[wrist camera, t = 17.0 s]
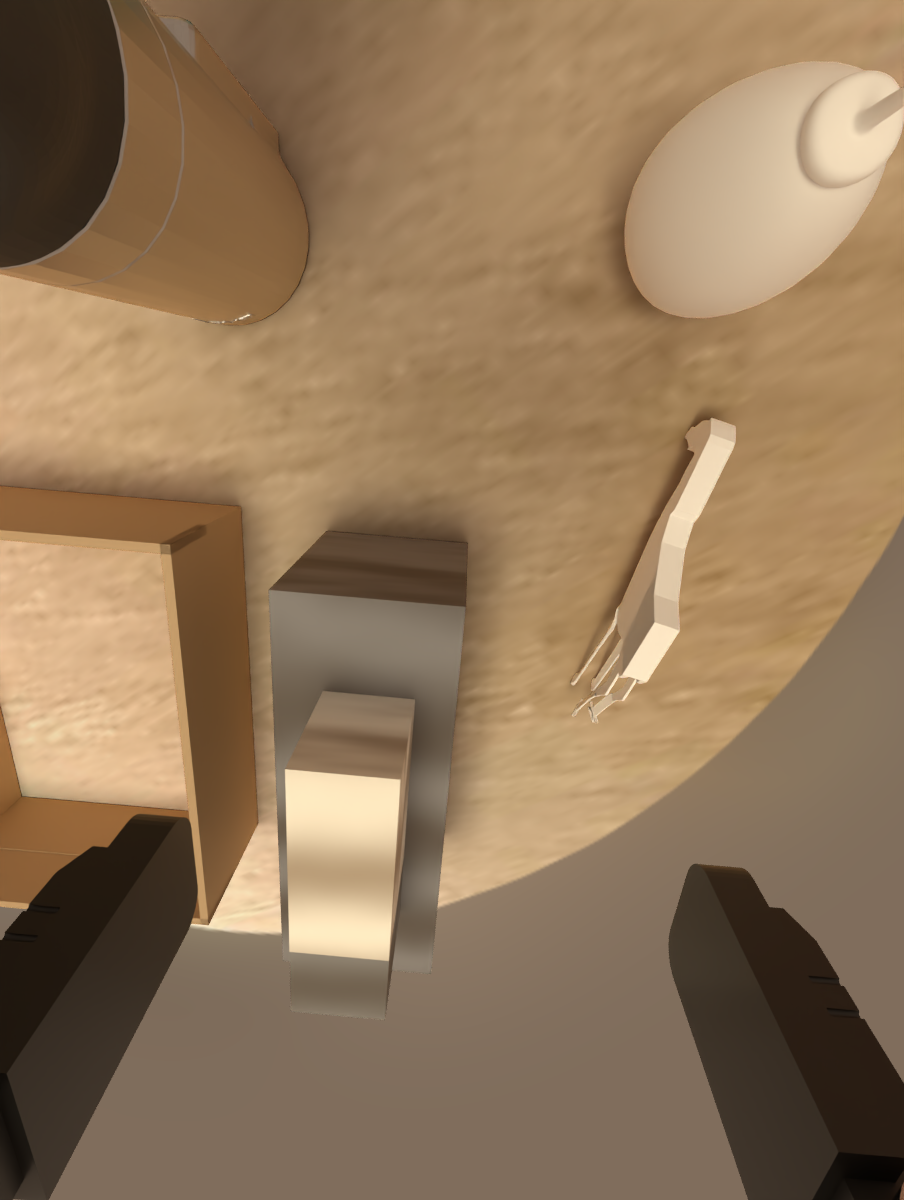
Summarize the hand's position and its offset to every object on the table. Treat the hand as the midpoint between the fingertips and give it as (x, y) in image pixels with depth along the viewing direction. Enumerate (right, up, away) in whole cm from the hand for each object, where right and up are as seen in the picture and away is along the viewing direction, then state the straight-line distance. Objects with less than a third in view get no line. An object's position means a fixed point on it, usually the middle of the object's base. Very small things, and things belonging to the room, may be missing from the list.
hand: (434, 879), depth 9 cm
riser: (-4, -3, +31) cm, 32 cm away
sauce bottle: (+12, +23, +21) cm, 34 cm away
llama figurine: (+12, +7, +28) cm, 31 cm away
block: (-4, -7, +21) cm, 22 cm away
